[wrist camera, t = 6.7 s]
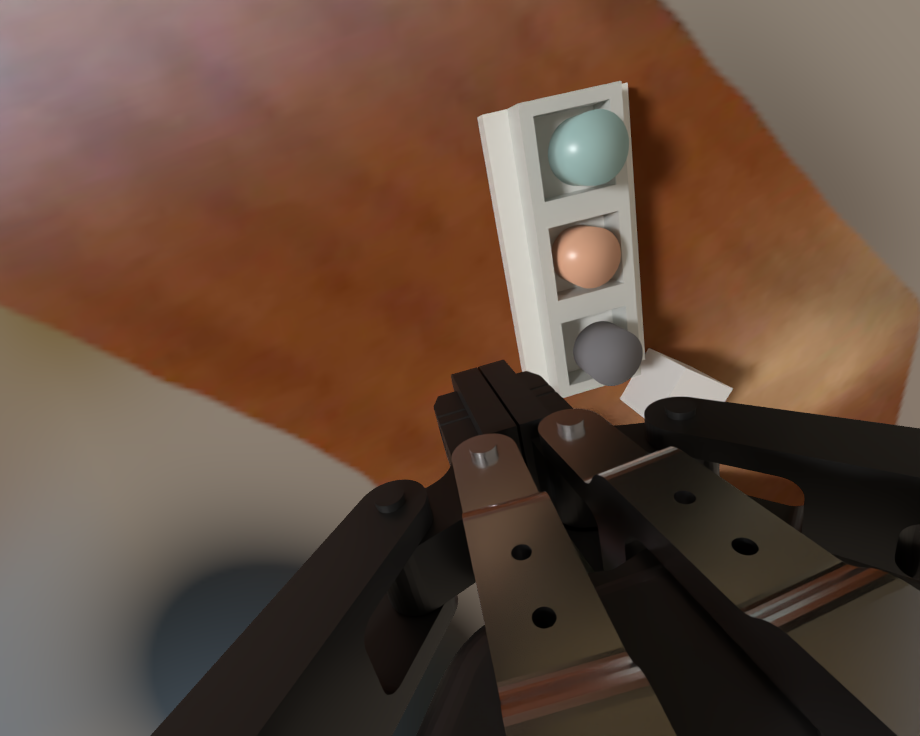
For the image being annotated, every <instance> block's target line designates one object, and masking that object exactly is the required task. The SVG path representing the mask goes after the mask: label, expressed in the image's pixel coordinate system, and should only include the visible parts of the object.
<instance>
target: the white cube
mask: <svg viewBox="0 0 920 736" xmlns="http://www.w3.org/2000/svg"><path fill="white" fill-rule="evenodd" d="M732 390H733V388H731V387H729V386H727V385H725V384H724V383H722V382H720V381H718V380H716V379H714V378H712V377H710V376H708V375H706V374H705V373H703V372H701V371H699V370H697V369H695V368H693V367H691V366H689V365H687V364H684V363H682V362H680V361H678V360H675V359H673V358H671V357H668V356H666V355H664V354H662V353H659V352H657V351H655V350H653V349H650V348H648V350H647V352H646V354H645V360H642V361H641V375H638V376H635V377H632V378H631V380H630V382H629V384H628V386H627V387H626V389H625V391H624V393H623V394H622V396H621V398H620V399H621V400H622V401H623V402H624V403H626V404H627V405H628V406H630V407H631V408H632V409H633V410H635V411H636V412H637V413H638V414H640V415H641V416H642V417H643V418H644V412H645V409H646V408H647V406H648V405H650V404H651V403H653V402H655V401H657V400H660V399H663V398H668V397H693V398H701V399H708V400H715V401H722V402H725V401H726V399H727V398H728V396H729V394H730V393H731V391H732Z"/></svg>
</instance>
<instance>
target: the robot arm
mask: <svg viewBox="0 0 920 736" xmlns="http://www.w3.org/2000/svg"><path fill="white" fill-rule="evenodd" d="M451 378H452V383H453V388H454V392H452V393H449V394H445V395H442V396H438V398H437V400H436V403H435V405H434V410H435V414H436V418H437V422H438V425H439V429H440V433H441V436H442V440H443V444H444V448H445V451H446V455H447V458H448V460H449V463H450V468H449V470H448V471H447V473H446V474H445V475H444V476H443V477H442V478H441V479H440V480H438V481H437V482H435V483H434V484H432V485H430V486H429V487H427V488H424V487H423V485H421V484H420V483H418V482H416V481H412V480H396V481H391V482H388V483H385V484H383V485H380V486H378V487H376V488H375V489H373V490H372V491H370V492H369V493H368V494H367V495H366V496H364V497H363V499H362V500H361V501H360V502H359V503H358V504H357V505H356V506H355V507H354V509H353V510H352V511H351V512H350V513H349V514H348V515H347V516H346V518H345V519H344V520H343V521H342V522H341V523H340V524H339V525H338V526H337V528H336V529H335V530H334V531H333V532H332V533H331V534H330V535H329V537H328V538H327V539H326V540H325V541H324V542H323V543H322V544H321V545H320V547H319V548H318V549H317V550H316V551H315V552H314V553H313V554H312V556H311V557H310V558H309V559H308V560H307V561H306V562H305V563H304V564H303V566H302V567H301V568H300V569H299V570H298V571H297V572H296V574H295V575H294V576H293V577H292V578H291V579H290V580H289V581H288V582H287V584H286V585H285V586H284V587H283V588H282V589H281V590H280V591H279V592H278V594H277V595H276V596H275V597H274V598H273V599H272V600H271V601H270V603H269V604H268V605H267V606H266V607H265V608H264V609H263V610H262V612H261V613H260V614H259V615H258V616H257V617H256V618H255V619H254V620H253V622H252V623H251V624H250V625H249V626H248V627H247V628H246V629H245V631H244V632H243V633H242V634H241V635H240V636H239V637H238V638H237V639H236V641H235V642H234V643H233V644H232V645H231V646H230V648H228V650H227V651H226V652H225V653H224V654H223V655H222V656H221V657H220V659H219V660H218V661H217V662H216V663H215V664H214V665H213V666H212V667H211V669H210V670H209V671H208V672H207V673H206V674H205V675H204V676H203V678H202V679H201V680H200V681H199V682H198V683H197V684H196V685H195V686H194V688H193V689H192V690H191V691H190V692H189V693H188V694H187V696H186V697H185V698H184V699H183V700H182V701H181V702H180V703H179V705H177V707H176V708H175V709H174V710H173V711H172V712H171V713H170V714H169V716H168V717H167V718H166V719H165V720H164V721H163V722H162V723H161V725H160V726H159V727H158V728H157V729H156V730H155V731H154V732H153V733H152V735H151V736H392V734H393V733H394V731H395V729H396V727H397V725H398V723H399V721H400V719H401V717H402V715H403V713H404V711H405V709H406V707H407V705H408V703H409V701H410V699H411V698H412V696H413V694H414V692H415V690H416V688H417V686H418V684H419V682H420V680H421V678H422V676H423V674H424V672H425V670H426V668H427V666H428V664H429V662H430V660H431V659H432V656H433V655H434V653H435V651H436V649H437V647H438V645H439V643H440V641H441V639H442V637H443V635H444V633H445V631H446V629H447V627H448V625H449V623H450V621H451V619H452V617H453V616H454V614H455V611H456V609H457V605H458V596H457V595H458V594H459V593H461V592H462V591H464V590H465V589H466V588H468V587H469V586H471V585H472V584H474V583H475V582H476V585H477V591H478V595H479V600H480V605H481V610H482V615H483V619H484V624H485V625H484V626H482V627H481V628H480V629H479V630H477V631H476V632H475V633H474V634H473V635H472V636H471V637H470V638H469V639H468V640H467V641H466V642H465V643H464V644H463V646H462V647H461V648H460V650H459V651H458V652H457V654H456V655H455V656H454V658H453V659H452V661H451V663H450V665H449V666H448V668H447V670H446V671H445V673H444V674H443V676H442V679H441V681H440V683H439V685H438V687H437V689H436V692H435V694H434V696H433V699H432V701H431V703H430V706H429V708H428V710H427V712H426V715H425V717H424V719H423V721H422V724H421V726H420V728H419V731H418V733H417V735H416V736H920V429H919V428H912V427H904V426H898V425H890V424H883V423H876V422H868V421H861V420H854V419H846V418H839V417H832V416H825V415H817V414H810V413H803V412H795V411H788V410H781V409H774V408H766V407H759V406H752V405H744V404H737V403H730V402H722V401H715V400H708V399H701V398H693V397H668V398H663V399H660V400H657V401H655V402H653V403H651V404H650V405H648V406H647V408H646V409H645V412H644V419H645V423H638V424H629V425H617V426H613V425H612V424H610V423H609V422H608V421H606V420H605V419H604V418H603V417H601V416H600V415H599V414H597V413H595V412H593V411H590V410H585V409H573V408H572V407H571V406H570V405H569V404H568V403H567V402H566V401H565V400H564V399H563V398H562V397H561V396H560V395H559V394H558V393H557V392H555V390H554V389H553V388H552V387H551V386H550V385H549V384H548V383H547V382H546V381H545V380H544V379H543V378H542V377H541V376H540V375H537V374H534V373H532V372H529V371H524V372H520V373H517V374H516V373H515V372H514V371H513V370H512V369H511V367H510V366H509V365H508V364H507V363H506V362H505V361H504V360H501V361H497V362H494V363H490V364H487V365H483V366H480V367H478V369H477V368H473V369H469V370H466V371H462V372H459V373H455V374H452V375H451ZM719 464H724V465H728V466H733V467H738V468H742V469H747V470H752V471H756V472H761V473H766V474H770V475H775V476H780V477H783V478H786V479H789V480H791V481H792V482H794V483H795V484H797V485H798V486H799V487H800V488H801V490H802V491H803V493H804V496H805V501H804V505H803V506H788V505H784V504H780V503H776V502H772V501H768V500H764V499H760V498H756V497H752V496H748V495H745V494H744V493H743V492H741V491H740V490H738V489H737V488H735V487H734V486H732V485H731V484H730V483H728V482H727V481H725V480H724V479H722V478H721V477H719Z"/></svg>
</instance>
